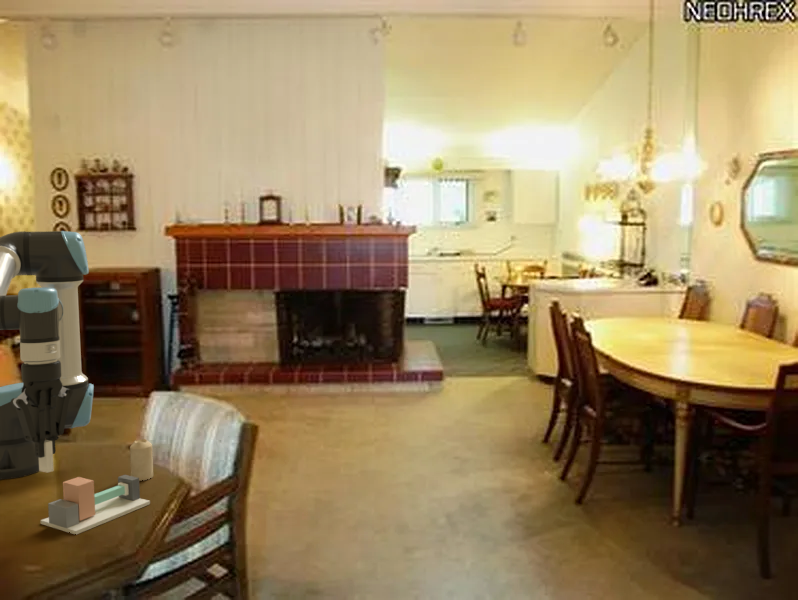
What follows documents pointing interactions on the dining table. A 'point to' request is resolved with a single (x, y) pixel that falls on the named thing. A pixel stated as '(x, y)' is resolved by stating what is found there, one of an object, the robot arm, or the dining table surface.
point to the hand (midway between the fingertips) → (46, 470)
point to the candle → (141, 459)
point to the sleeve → (81, 495)
